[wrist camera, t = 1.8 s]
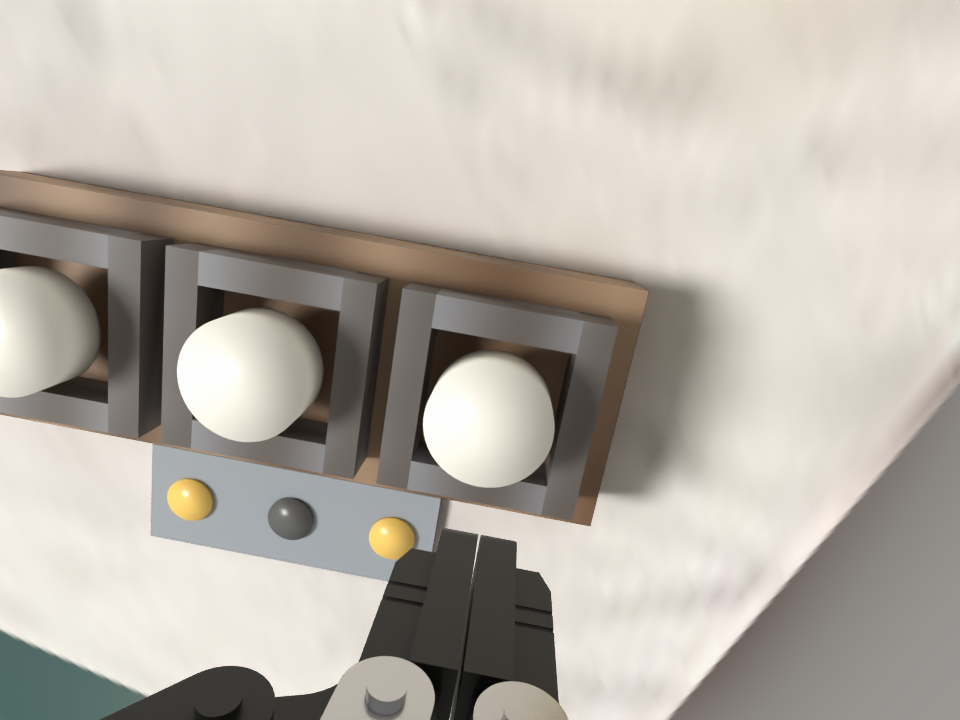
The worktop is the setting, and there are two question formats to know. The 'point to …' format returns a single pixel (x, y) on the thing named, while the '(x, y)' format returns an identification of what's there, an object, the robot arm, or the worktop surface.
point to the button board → (322, 335)
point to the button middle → (250, 373)
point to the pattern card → (287, 513)
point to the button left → (43, 330)
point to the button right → (489, 419)
